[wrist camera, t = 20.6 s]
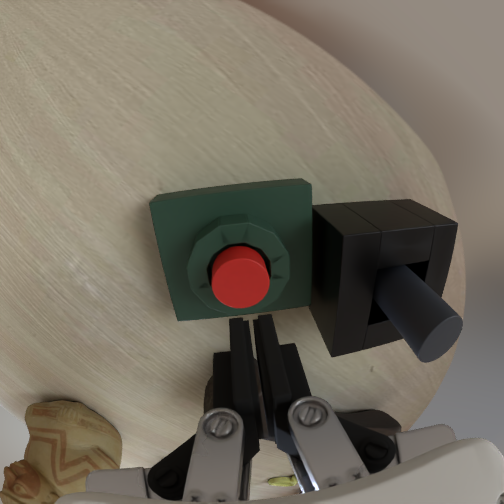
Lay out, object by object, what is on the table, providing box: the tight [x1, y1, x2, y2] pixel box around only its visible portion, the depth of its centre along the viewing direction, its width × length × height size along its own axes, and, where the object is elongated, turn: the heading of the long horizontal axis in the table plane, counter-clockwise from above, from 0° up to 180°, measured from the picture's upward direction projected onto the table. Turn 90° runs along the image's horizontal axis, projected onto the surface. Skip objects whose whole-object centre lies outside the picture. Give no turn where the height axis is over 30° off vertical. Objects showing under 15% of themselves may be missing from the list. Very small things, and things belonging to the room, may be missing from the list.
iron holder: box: [309, 199, 458, 357], centre depth 19 cm, size 9×9×6 cm
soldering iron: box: [373, 265, 463, 363], centre depth 16 cm, size 3×3×11 cm
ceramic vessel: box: [0, 400, 122, 504], centre depth 18 cm, size 17×20×25 cm
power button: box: [212, 246, 270, 308], centre depth 16 cm, size 3×3×2 cm
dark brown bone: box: [204, 358, 401, 441], centre depth 26 cm, size 11×10×28 cm
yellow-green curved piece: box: [268, 475, 298, 486], centre depth 41 cm, size 7×12×2 cm, turn 152°
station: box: [149, 178, 312, 321], centre depth 18 cm, size 10×9×4 cm
